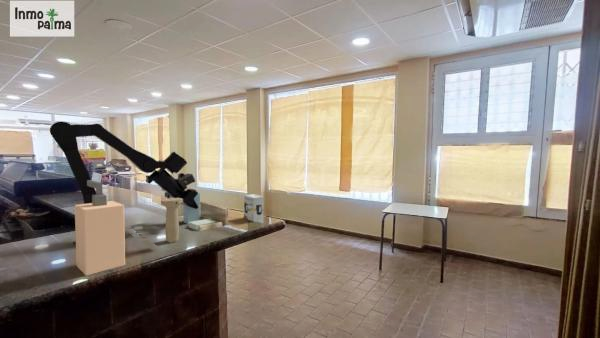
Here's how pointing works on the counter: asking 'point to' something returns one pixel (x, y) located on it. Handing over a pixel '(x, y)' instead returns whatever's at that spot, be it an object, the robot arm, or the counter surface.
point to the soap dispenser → (99, 233)
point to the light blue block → (192, 211)
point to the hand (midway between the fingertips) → (194, 207)
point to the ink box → (253, 208)
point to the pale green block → (200, 223)
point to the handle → (172, 218)
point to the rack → (212, 215)
